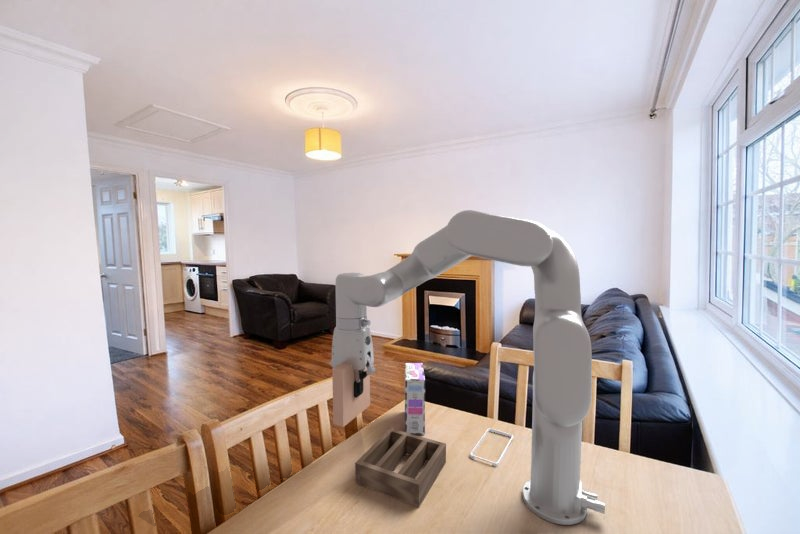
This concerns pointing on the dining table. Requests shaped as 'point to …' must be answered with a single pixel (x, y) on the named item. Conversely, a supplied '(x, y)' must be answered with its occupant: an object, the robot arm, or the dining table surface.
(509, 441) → the phone case
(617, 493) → the dining table surface
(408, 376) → the candy box
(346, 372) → the pink block
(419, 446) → the slotted box
